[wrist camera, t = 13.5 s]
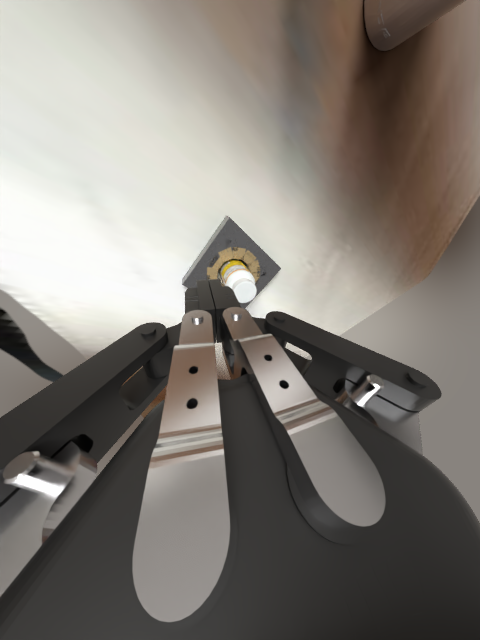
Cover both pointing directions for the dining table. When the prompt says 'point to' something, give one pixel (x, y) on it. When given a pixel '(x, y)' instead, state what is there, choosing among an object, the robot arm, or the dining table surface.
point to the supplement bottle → (238, 280)
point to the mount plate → (231, 257)
